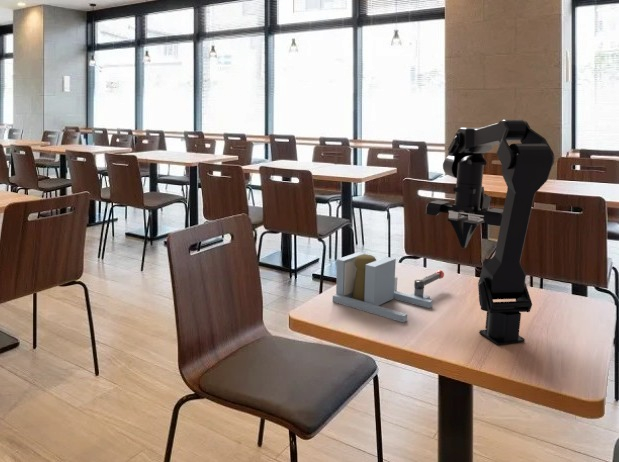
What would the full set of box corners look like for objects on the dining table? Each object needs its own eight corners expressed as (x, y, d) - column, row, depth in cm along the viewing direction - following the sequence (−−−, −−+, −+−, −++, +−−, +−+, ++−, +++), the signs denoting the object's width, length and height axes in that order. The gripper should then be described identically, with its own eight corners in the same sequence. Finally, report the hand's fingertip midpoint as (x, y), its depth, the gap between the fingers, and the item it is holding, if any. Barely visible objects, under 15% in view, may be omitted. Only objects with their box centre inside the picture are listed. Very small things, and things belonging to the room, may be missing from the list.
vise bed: (441, 301, 129) (443, 261, 127) (403, 322, 116) (405, 278, 114) (371, 283, 142) (373, 247, 140) (331, 300, 129) (331, 260, 126)
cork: (376, 295, 133) (378, 252, 130) (377, 304, 127) (378, 259, 125) (352, 294, 133) (353, 251, 131) (351, 302, 128) (352, 258, 125)
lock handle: (421, 290, 129) (421, 282, 128) (412, 288, 130) (412, 280, 130) (445, 278, 138) (446, 270, 138) (437, 276, 140) (437, 268, 139)
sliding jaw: (393, 298, 130) (395, 258, 128) (373, 308, 123) (374, 266, 121) (384, 295, 132) (386, 256, 130) (363, 305, 125) (364, 264, 123)
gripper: (522, 183, 124) (515, 248, 128) (448, 175, 136) (443, 235, 140) (503, 188, 116) (496, 258, 119) (426, 179, 128) (422, 243, 131)
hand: (463, 247), depth 128 cm, fingers closed
